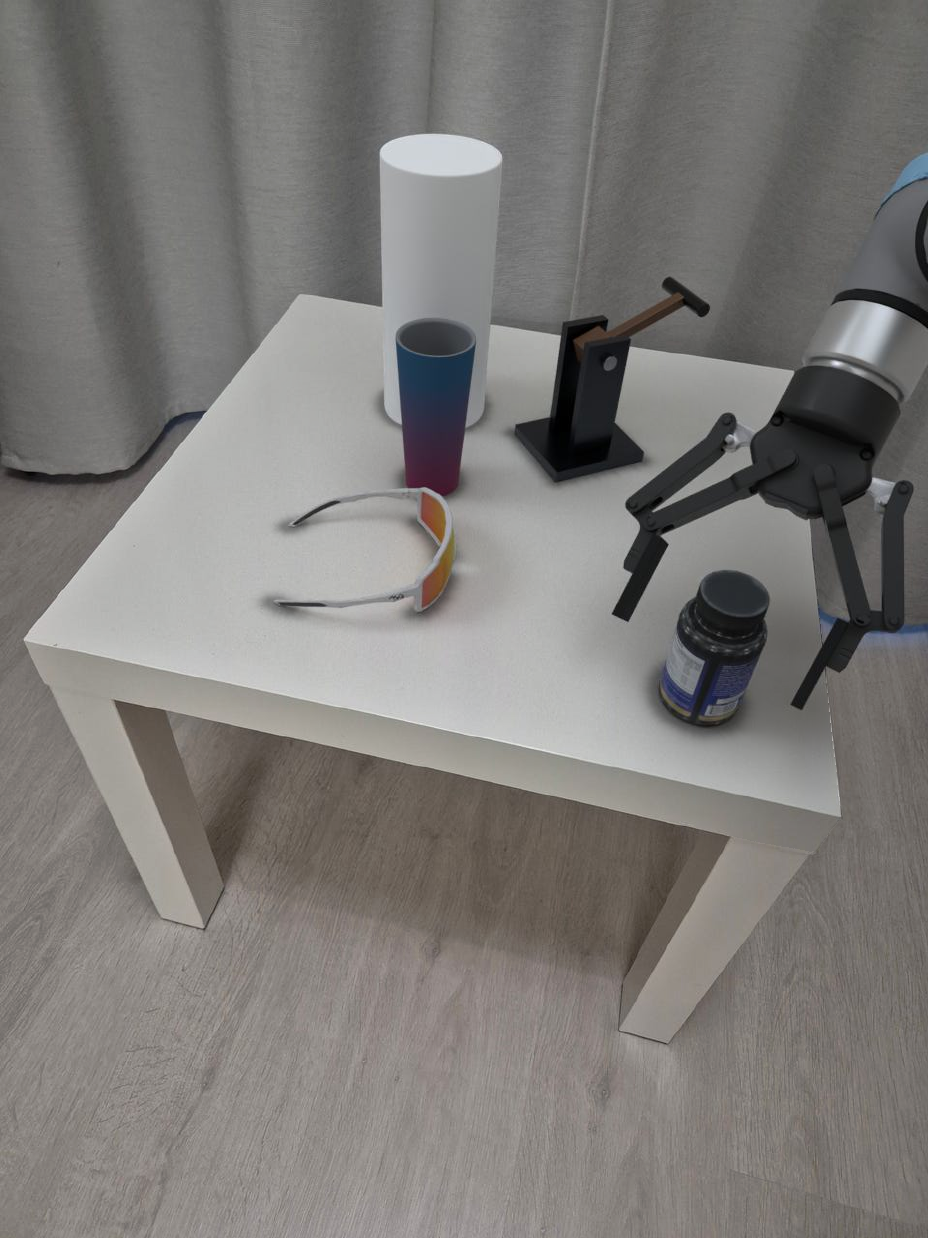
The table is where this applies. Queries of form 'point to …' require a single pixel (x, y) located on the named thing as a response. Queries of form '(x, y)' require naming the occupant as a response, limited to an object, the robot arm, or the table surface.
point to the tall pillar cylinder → (438, 245)
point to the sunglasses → (433, 579)
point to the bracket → (583, 408)
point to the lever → (649, 315)
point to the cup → (434, 399)
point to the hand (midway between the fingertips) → (704, 661)
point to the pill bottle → (715, 648)
